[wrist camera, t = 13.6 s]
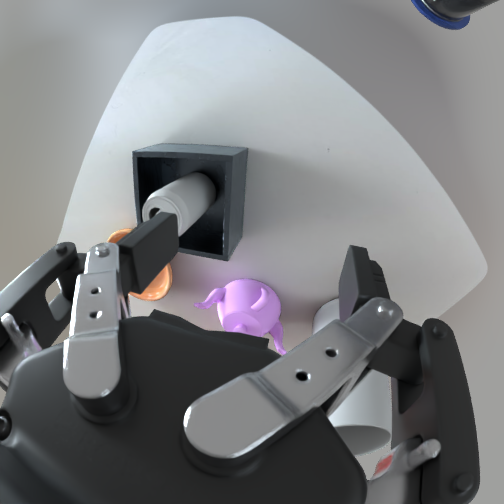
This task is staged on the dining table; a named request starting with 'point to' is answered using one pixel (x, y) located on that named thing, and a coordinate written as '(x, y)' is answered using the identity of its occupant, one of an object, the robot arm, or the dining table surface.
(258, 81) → the dining table surface
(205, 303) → the teapot
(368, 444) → the cylinder vase
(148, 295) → the saucer
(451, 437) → the robot arm
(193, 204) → the beverage can
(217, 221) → the dark gray open box
